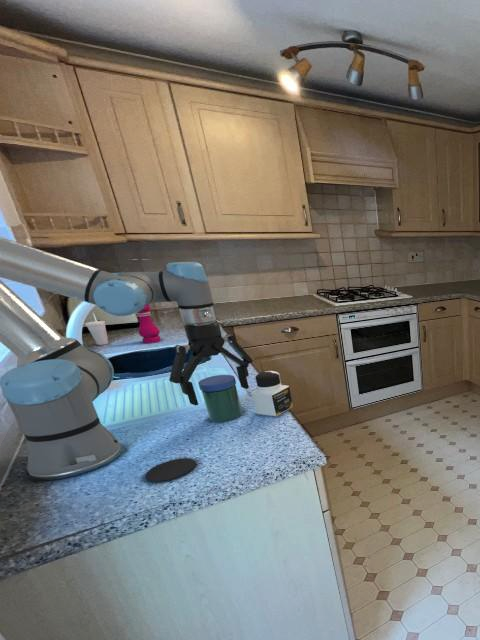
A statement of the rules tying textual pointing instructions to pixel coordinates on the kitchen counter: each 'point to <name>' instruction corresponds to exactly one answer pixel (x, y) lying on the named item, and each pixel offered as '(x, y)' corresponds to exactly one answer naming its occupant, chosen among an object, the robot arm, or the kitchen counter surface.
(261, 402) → the medicine bottle
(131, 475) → the kitchen counter surface
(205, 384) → the jam lid
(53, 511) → the kitchen counter surface
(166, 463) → the rubber mat
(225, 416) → the jam jar
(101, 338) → the smoothie
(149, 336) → the pepper mill
